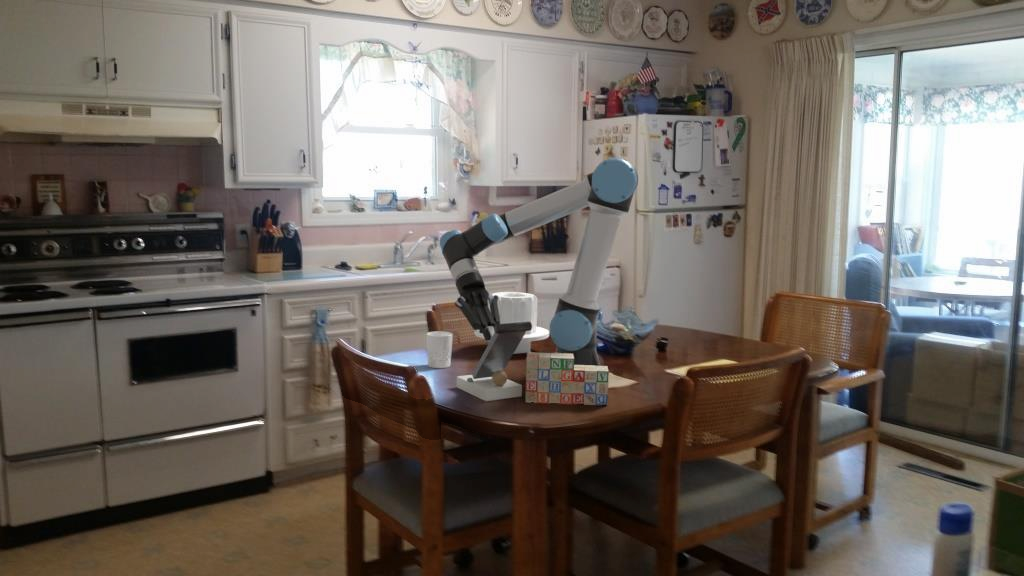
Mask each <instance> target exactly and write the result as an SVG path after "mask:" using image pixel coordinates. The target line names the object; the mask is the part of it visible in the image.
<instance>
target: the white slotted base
mask: <svg viewBox="0 0 1024 576" xmlns="http://www.w3.org/2000/svg"><path fill="white" fill-rule="evenodd" d="M456 388H458V389H459V390H462V391H464V392H466V393H468V394H470V395H472V396H474V397H476V398H478V399H480V400H482V401H484V402H491V401H497V400H498V401H499V400H504V399H511V398H519V397H522V394H523V385H522V384H520V383H518V382H516V381H512V380H510V379H508V375H507V373H506V372H505V371H500V370H499V371H496V372H495V373H494V374H493V376H492V377H486V378H478V379H474V378H473V376H472V374H468V375H467V374H466V375H459V376H458V375H457V376H456Z"/></svg>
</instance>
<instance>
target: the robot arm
mask: <svg viewBox="0 0 1024 576" xmlns="http://www.w3.org/2000/svg"><path fill="white" fill-rule="evenodd" d="M638 176H639V175H638V172H637V170H636V168H635V167H634V165H633V164H632V163H631V162H629V161H628V160H625V159H623V158H620V157H619V158H618V157H611V158H607V159H605V160H603V161H601V162H600V163H599V164H598V165H597V166H596V168H595V169H594V171H593V172H591V173H589V174H586V175H585V177H584V178H583V180H581V181H578V182H576V183H574V184H571V185H568V186H566V187H564V188H562V189H559V190H557V191H554V192H552V193H549V194H547V195H545V196H543V197H540V198H537V199H535V200H533V201H531V202H528V203H526V204H523V205H521V206H519V207H516V208H514V209H511V210H509V211H506V212H504V213H502V214H499V215H498V214H497V213H492V214H489V215H488V216H486V217H483V219H482V220H480V221H478V222H477V223H476V224H474V225H472V226H471V227H470V228H468V229H466V230H465V231H463V232H462V231H461V230H459V229H451V231H446V232H444V233H443V234H442V235H441V237H440V239H439V247H440V249H441V254H442V256H443V258H444V260H445V262H446V264H447V267H448V269H449V272H450V274H451V276H452V279H453V282H454V284H455V287H456V289H457V291H458V294H459V295H460V296H459V297H457V299H456V301H455V303H454V305H455V306H456V307H457V308H458V309H459V310H460V311H461V312H462V314H463V315H464V317H465V318H466V320H467V321H468V323H469V324H470V326H471V327H472V329H473V330H477V329H478V330H480V331H479V332H480V333H483V336H484V338H485V339H484V340H485V341H487V342H488V343H489V342H490V340H491V338H492V337H493V335H494V333H495V332H494V326H495V325H496V324H500V316H499V310H498V305H497V300H498V296H497V295H495V296H494V297H493V296H491V295H490V293H489V292H488V290H487V289H486V285H485V282H484V280H483V277H482V275H481V273H480V270H479V268H478V267H479V266H477V263H476V261H475V259H474V257H476V256H477V255H479V254H480V253H482V252H483V251H486V250H487V249H489V248H490V247H492V246H495V245H498V244H501V243H504V242H505V241H507V240H509V239H511V238H514V237H516V236H519V235H521V234H524V233H526V232H528V231H532V230H534V229H536V228H538V227H542V226H543V225H546V224H549V223H550V222H553V221H555V220H558V219H560V218H564V217H566V216H568V215H570V214H573V213H576V212H578V211H580V210H583V209H585V208H586V209H587V207H589V213H588V217H587V221H586V224H585V227H584V231H583V235H582V237H581V241H580V245H579V249H578V252H577V255H576V259H575V262H574V265H573V269H572V272H571V276H570V279H569V282H568V286H567V290H566V291H565V292H564V293H563V294H561V295H560V296H559V298H558V301H557V305H556V308H555V313H554V316H553V317H552V318H551V320H550V323H549V336H550V338H551V340H552V341H553V343H554V344H555V345H556V349H555V352H554V353H569V354H573V356H574V365H594V366H602V365H601V361H600V359H599V356H598V352H597V333H598V331H597V329H598V315H599V312H600V308H601V307H600V304H599V303H598V301H597V300H598V297H599V294H600V293H599V292H600V290H601V287H602V283H603V279H604V277H605V274H606V269H607V266H608V263H609V260H610V255H611V253H612V248H613V245H614V242H615V238H616V235H617V231H618V228H619V226H620V223H621V218H622V217H624V216H626V215H627V214H629V211H630V208H631V204H632V201H633V198H634V194H635V191H636V189H637V187H638V184H639V177H638ZM488 300H489V304H490V310H489V307H488ZM490 311H491V312H490ZM487 327H488V328H487Z"/></svg>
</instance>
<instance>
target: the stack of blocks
mask: <svg viewBox="0 0 1024 576" xmlns="http://www.w3.org/2000/svg"><path fill="white" fill-rule="evenodd" d="M525 362H526V366H525V367H526V368H525V403H531V402H534V403H533V404H550V403H561V404H560V405H577V404H584V406H585V405H586V406H602V405H607V406H608V398H609V397H608V396H609V378H610V377H609V368H608V365H601V366H594V365H574V356H573V354H569V353H555V352H533V351H531V352H528V353H526V361H525Z"/></svg>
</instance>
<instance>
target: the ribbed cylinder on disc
mask: <svg viewBox="0 0 1024 576" xmlns="http://www.w3.org/2000/svg"><path fill="white" fill-rule="evenodd" d="M489 295H491V296H493V297H494V296H495V295H497V296H498V300H497V305H498V310H499V316H500V324H506V323H518V322H531V324H532V329H531V331H526V333H525V335H524V336H523V338H522V340H521V341H520V343H519V345H518V347H517V348H516V350H515V352H514V353H513V355H518V354H519V355H520V354H527V353H528V352H532V351H531V348H532V342H536V341H542V340H547V339H548V338H549V337H550V330H548V329H547V328H544V327H541V326H538V325H537V324H538V322H537V321H538V297H537V296H536V295H534V294H533V293H528V292H519V291H518V292H517V291H501V292H493V293H489ZM487 302H488V307H489V310H490V304H489V300H487ZM490 312H491V311H490ZM487 328H488V327H487ZM473 330H474V329H473ZM479 331H480V330H478V329H477V330H474V331H473V333H474V336H475V337H477V338H480V339H484V340H485V338H484V336H483V333H480V332H479Z"/></svg>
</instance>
